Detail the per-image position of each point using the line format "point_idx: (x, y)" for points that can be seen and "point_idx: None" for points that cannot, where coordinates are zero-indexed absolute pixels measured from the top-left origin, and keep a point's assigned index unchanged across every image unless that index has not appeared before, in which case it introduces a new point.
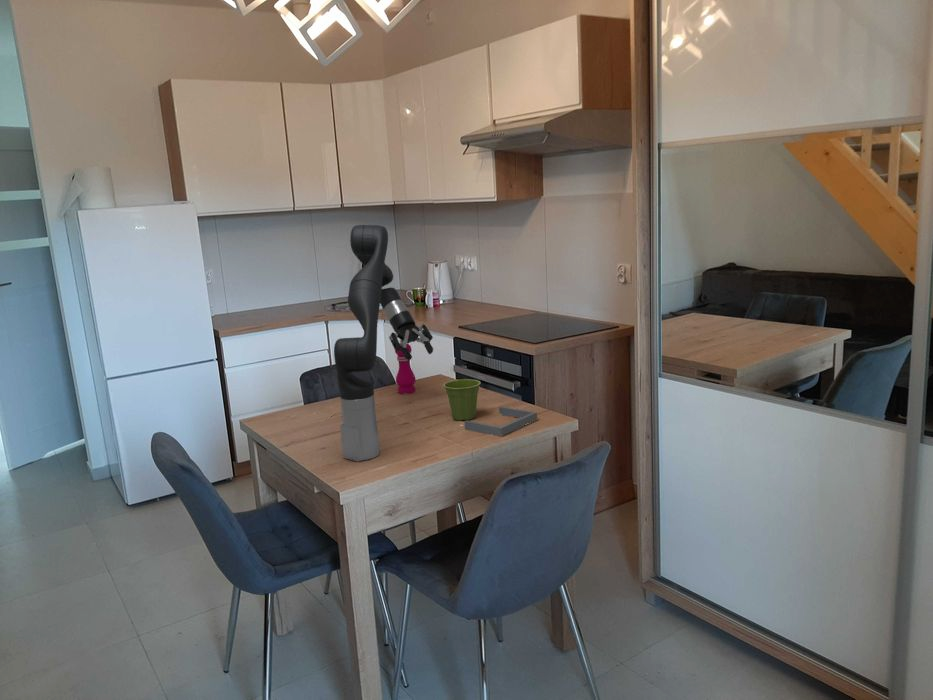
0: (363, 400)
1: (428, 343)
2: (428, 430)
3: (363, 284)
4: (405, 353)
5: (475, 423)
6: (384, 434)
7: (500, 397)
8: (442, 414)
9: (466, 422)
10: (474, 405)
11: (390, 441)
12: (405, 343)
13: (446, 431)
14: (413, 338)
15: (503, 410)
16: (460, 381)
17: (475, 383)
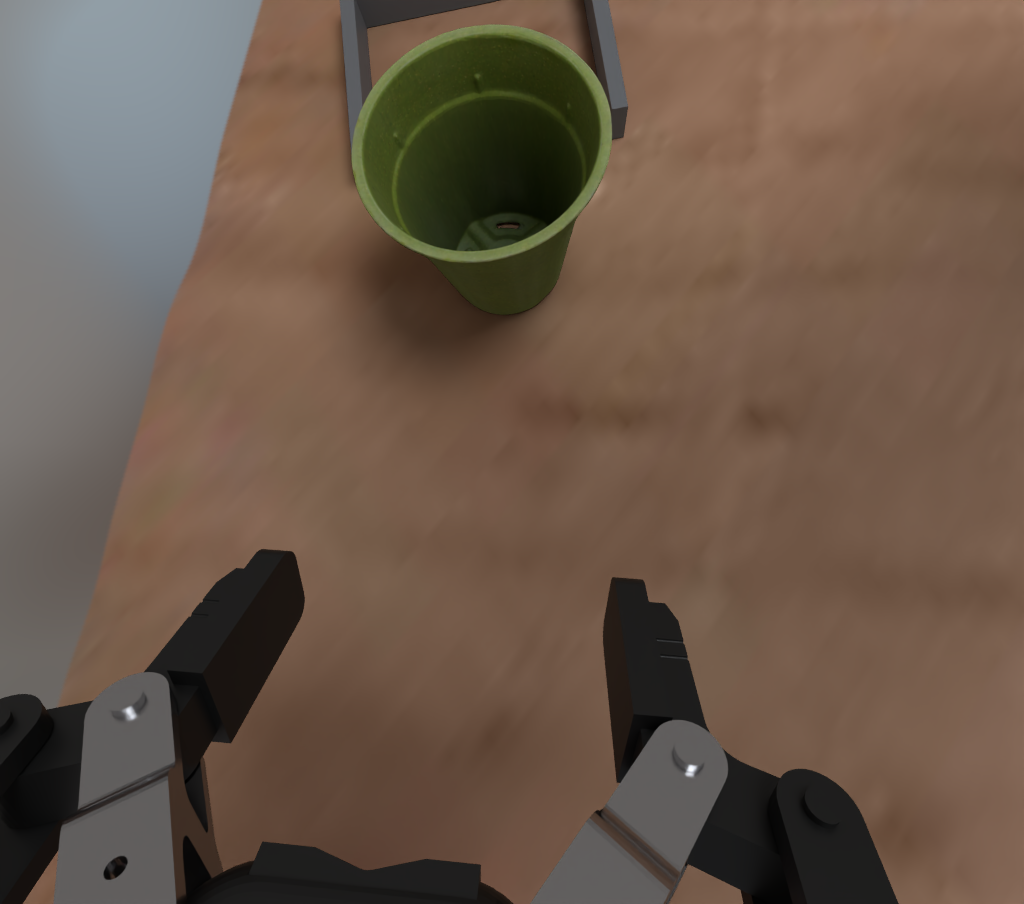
0: None
1: (196, 646)
2: (747, 243)
3: None
4: (686, 662)
5: (616, 48)
6: (946, 357)
7: (163, 381)
8: (535, 389)
9: (625, 98)
10: (482, 162)
11: (980, 248)
12: (639, 812)
13: (698, 172)
14: (359, 875)
15: None
16: (410, 236)
17: (375, 149)
